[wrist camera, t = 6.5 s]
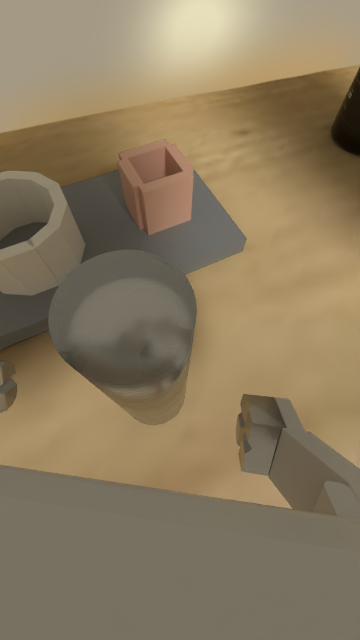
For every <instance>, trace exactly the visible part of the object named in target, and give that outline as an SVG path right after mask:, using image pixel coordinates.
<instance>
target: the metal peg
mask: <svg viewBox="0 0 360 640" xmlns="http://www.w3.org/2000/svg"><path fill="white" fill-rule="evenodd" d="M196 313H197V310H196V299H195V295H194V292H193V289H192V287H191V285H190V283H189V281H188V279H187V278H186V276H185V275H184V274H183V273H182V272H181V271H180V269H179V268H177V267H176V266H175V265H174V264H173V263H171V262H170V261H168V260H166V259H165V258H163V257H161V256H158V255H156V254H153V253H150V252H145V251H140V250H117V251H111V252H107V253H104V254H100V255H98V256H95V257H93V258H91V259H89V260H87V261H85V262H83V263H82V264H80V265H79V266H78V267H76V268H75V269H74V270H73V271H72V272H70V273H69V274H68V275H67V277H66V278H65V279H64V280H63V281H62V283H61V284H60V285H59V287H58V289H57V290H56V292H55V294H54V296H53V299H52V302H51V305H50V309H49V318H48V323H49V332H50V336H51V339H52V342H53V344H54V346H55V348H56V350H57V351H58V353H59V354H60V355H61V357H62V358H63V359H64V360H65V361H66V362H67V363H68V364H69V365H70V366H72V367H73V368H74V369H75V370H76V371H78V372H79V373H80V374H81V375H83V376H84V377H85V378H86V379H87V380H89V381H90V382H91V383H92V384H94V385H95V386H96V387H97V388H98V389H100V390H101V391H102V392H103V393H105V394H106V395H107V396H108V397H109V398H111V399H112V400H113V401H114V402H115V403H117V404H118V405H119V406H120V407H122V408H123V409H124V410H125V411H126V412H128V413H129V414H130V415H131V416H133V417H134V418H135V419H136V420H138V421H139V422H142V423H144V424H148V425H158V424H162V423H165V422H167V421H169V420H171V419H172V418H173V417H174V416H175V415H176V414H177V413H178V412H179V411H180V409H181V407H182V405H183V402H184V397H185V390H186V383H187V376H188V369H189V363H190V356H191V349H192V342H193V335H194V328H195V321H196Z"/></svg>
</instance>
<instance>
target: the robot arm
mask: <svg viewBox="0 0 360 640" xmlns="http://www.w3.org/2000/svg"><path fill="white" fill-rule="evenodd" d="M14 374H15V367H14V364H13V363H11V362H9V361H2V360H0V413H1V412H4V411H6V410H7V409H8V408H9V407H10V406H11V405H12V404H13V402H14V400H15V398H16V394H17V384H16V383H15V381H14V380H13V379H12V377H13V376H14ZM240 405H241V410H242V412H241V413H240V414H239V415H238V418H237V425H236V440H237V444H238V445H239V446H240V450H239V460H240V466H241V471H244V472H249V473H255V474H261V475H266V476H269V478H270V480H271V481H272V482H273V484H274V485H275V486H276V487H277V489H278V490H279V491H280V493H281V494H282V495H283V497H284V498H285V499H286V500H287V502H288V503H289V504H290V506H291V507H292V508H293V509H288V508H282V507H275V506H269V505H262V504H255V503H248V502H242V501H235V500H229V499H222V498H216V497H209V496H202V495H196V494H189V493H183V492H176V491H170V490H163V489H157V488H150V487H144V486H137V485H130V484H124V483H117V482H111V481H104V480H98V479H91V478H84V477H78V476H71V475H64V474H58V473H51V472H44V471H38V470H31V469H25V468H18V467H12V466H5V465H0V640H360V469H359V468H358V467H356V466H355V465H354V464H352V463H351V462H350V461H348V460H347V459H346V458H344V457H343V456H342V455H340V454H339V453H338V452H336V451H335V450H334V449H332V448H331V447H330V446H328V445H327V444H326V443H324V442H323V441H322V440H320V439H319V438H318V437H316V436H315V435H314V434H312V433H311V432H308V431H305V430H304V428H303V426H302V424H301V422H300V420H299V418H298V416H297V414H296V412H295V410H294V408H293V405H292V403H291V401H290V400H289V399H287V398H277V397H267V396H258V395H249V394H243V396H242V399H241V404H240Z"/></svg>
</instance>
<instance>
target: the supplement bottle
mask: <svg viewBox="0 0 360 640" xmlns="http://www.w3.org/2000/svg"><path fill="white" fill-rule="evenodd" d="M332 136H333V138H334V140H335V141H336V143H337V144H338V145H339V146H341V147H342V148H343V149H345V150H347V151H349V152H351V153H354V154H357V155H360V67H359V70H358V72H357V74H356V76H355V78H354V80H353V82H352V84H351V86H350V89H349V91H348V93H347V95H346V97H345V99H344V101H343V103H342V105H341V107H340V110H339V112H338V114H337V116H336V118H335V120H334V123H333V125H332Z"/></svg>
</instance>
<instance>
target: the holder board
mask: <svg viewBox="0 0 360 640" xmlns="http://www.w3.org/2000/svg"><path fill="white" fill-rule="evenodd" d="M119 159H120V160H119V161H117V163H118V168H119V170H116V171H113V172H110V173H107V174H103V175H100V176H97V177H94V178H90V179H87V180H84V181H81V182H77V183H74V184H71V185H68V186H64V187H61V188H60V185H59V183H57V182H55V181H53V180H51V179H49V178H47V177H46V176H44V175H42V174H40V173H38V172H27V171H5V172H1V173H0V349H3V348H5V347H8V346H10V345H13V344H15V343H18V342H20V341H23V340H25V339H28V338H30V337H32V336H35V335H37V334H40V333H42V332H45V331H47V330H49V323H48V318H49V309H50V305H51V302H52V299H53V296H54V294H55V292H56V290H57V289H58V287H59V285H60V284H61V283H62V281H63V280H64V279H65V278H66V277H67V275H68V274H69V273H70V272H72V271H73V270H74V269H75V268H76V267H78V266H79V265H80V264H82V263H83V262H85V261H87V260H89V259H91V258H93V257H95V256H98V255H100V254H104V253H107V252H111V251H117V250H140V251H145V252H150V253H153V254H156V255H158V256H161V257H163V258H165V259H166V260H168V261H170V262H171V263H173V264H174V265H175V266H176V267H177V268H179V269H180V271H181V272H182V273H183V274H184V275H185V274H187V273H190V272H192V271H195V270H197V269H200V268H202V267H204V266H207V265H209V264H212V263H214V262H217V261H219V260H222V259H224V258H227V257H229V256H231V255H234V254H236V253H239V252H241V251H243V249H244V245H245V242H246V239H247V238H246V237H245V236H244V234H243V233H242V232H241V230H240V229H239V228H238V227H237V225H236V224H235V223H234V221H233V220H232V219H231V217H230V216H229V215H228V213H227V212H226V211H225V209H224V208H223V207H222V205H221V204H220V203H219V202H218V200H217V199H216V198H215V196H214V195H213V194H212V192H211V191H210V190H209V188H208V187H207V186H206V184H205V183H204V182H203V181H202V179H201V178H200V177H199V175H198V174H197V173H196V171H195V170H194V169H193V167H192V165H191V164H190V163H189V162H188V160H187V159H186V158H185V156H184V155H183V154H182V152H181V151H180V150H179V148H178V147H177V146H176V145H175V144H172V145H170V144H169V143H168V142H167V140H166V139H164V140H161V141H158V142H154V143H151V144H147V145H144V146H141V147H137V148H134V149H130V150H127V151H124V152H120V153H119Z"/></svg>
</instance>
